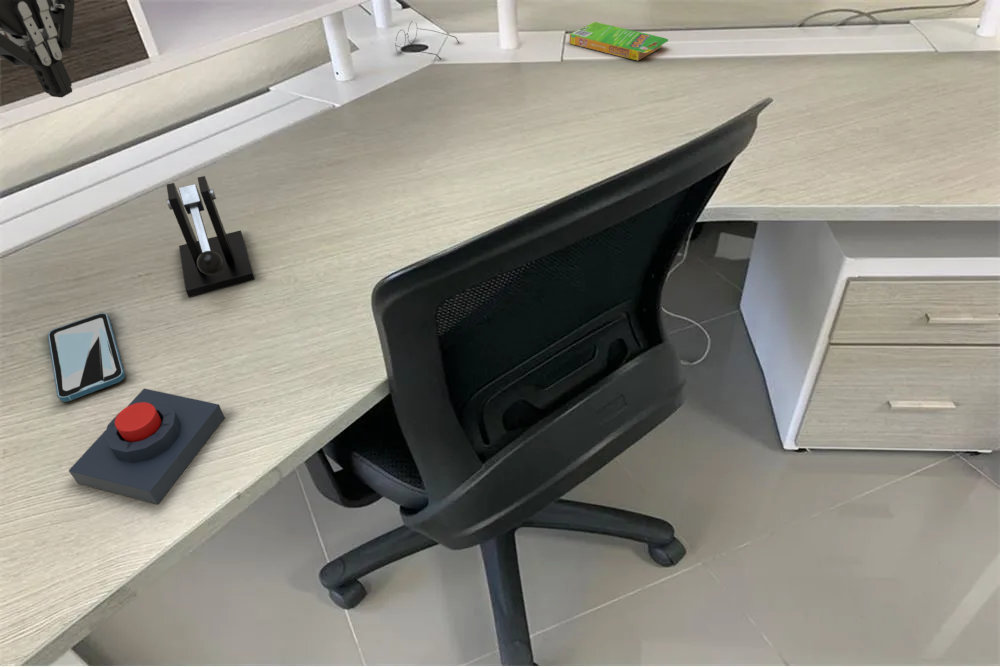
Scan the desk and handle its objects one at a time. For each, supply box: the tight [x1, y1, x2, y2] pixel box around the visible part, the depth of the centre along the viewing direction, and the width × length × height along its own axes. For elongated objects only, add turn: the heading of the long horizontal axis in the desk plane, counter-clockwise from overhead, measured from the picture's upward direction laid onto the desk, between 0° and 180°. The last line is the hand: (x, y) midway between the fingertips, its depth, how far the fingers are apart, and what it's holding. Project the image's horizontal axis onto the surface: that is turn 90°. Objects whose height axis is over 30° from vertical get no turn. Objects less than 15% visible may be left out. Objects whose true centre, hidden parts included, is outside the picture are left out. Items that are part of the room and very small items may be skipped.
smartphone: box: [47, 312, 126, 403], centre depth 87 cm, size 7×1×15 cm
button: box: [115, 402, 161, 442], centre depth 73 cm, size 4×4×2 cm
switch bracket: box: [166, 175, 256, 298], centre depth 97 cm, size 12×9×13 cm
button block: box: [68, 388, 225, 505], centre depth 75 cm, size 12×10×4 cm
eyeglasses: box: [394, 22, 460, 61], centre depth 161 cm, size 11×13×5 cm
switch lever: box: [178, 183, 223, 275], centre depth 93 cm, size 13×3×3 cm
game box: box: [569, 21, 669, 62], centre depth 157 cm, size 3×10×20 cm
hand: (61, 94), depth 82 cm, fingers closed
